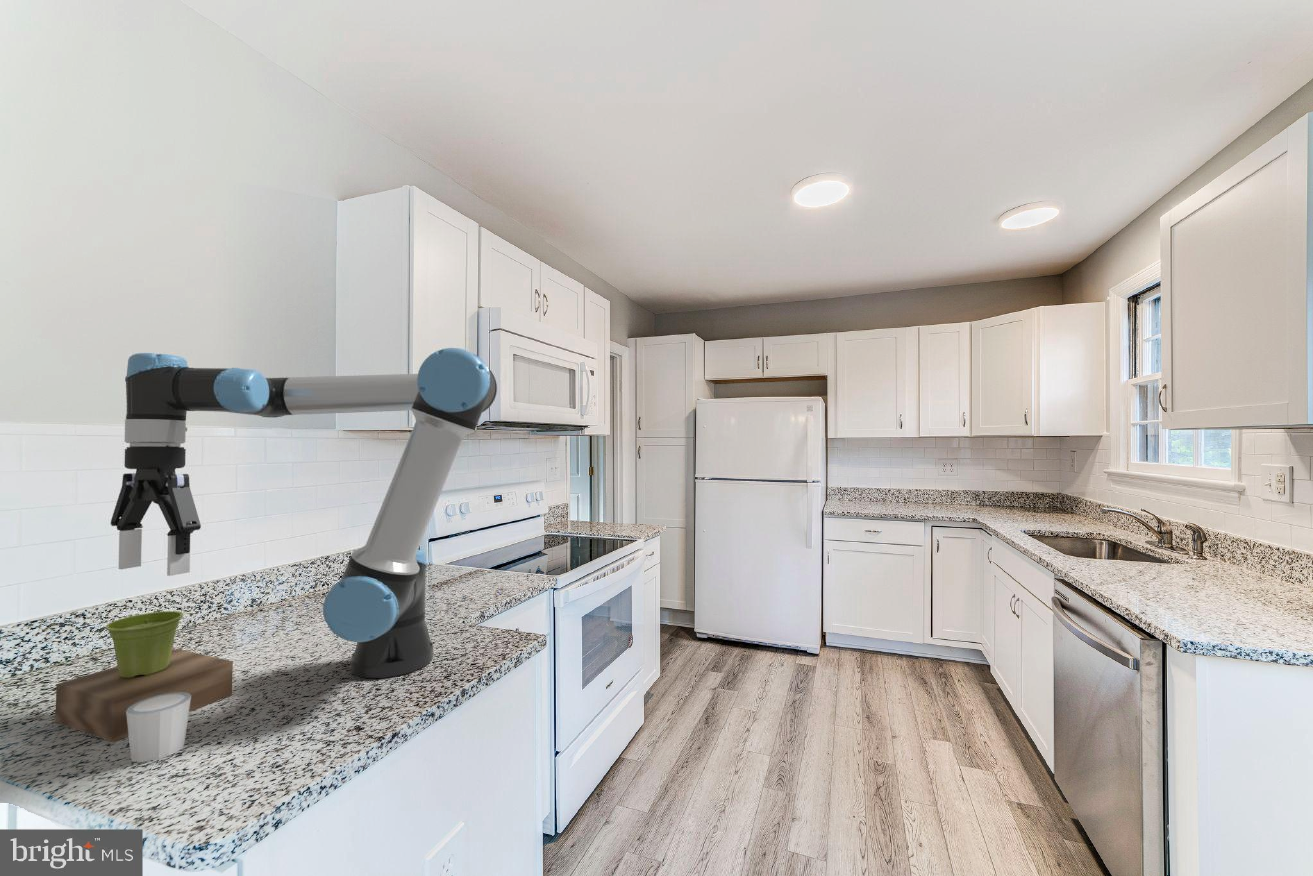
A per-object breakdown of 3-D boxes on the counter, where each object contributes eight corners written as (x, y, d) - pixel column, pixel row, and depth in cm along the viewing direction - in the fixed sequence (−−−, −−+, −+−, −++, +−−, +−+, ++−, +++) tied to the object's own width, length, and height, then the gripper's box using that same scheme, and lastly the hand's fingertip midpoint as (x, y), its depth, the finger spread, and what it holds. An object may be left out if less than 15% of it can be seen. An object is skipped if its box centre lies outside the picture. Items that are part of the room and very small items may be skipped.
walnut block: (231, 695, 93) (232, 661, 93) (113, 742, 78) (114, 701, 78) (176, 681, 99) (176, 648, 99) (55, 722, 84) (56, 684, 84)
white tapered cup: (125, 750, 76) (126, 701, 76) (188, 733, 81) (189, 687, 81) (124, 771, 71) (125, 719, 71) (191, 751, 76) (193, 702, 76)
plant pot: (133, 685, 84) (135, 630, 84) (88, 680, 85) (89, 626, 86) (195, 662, 93) (197, 613, 93) (153, 658, 95) (155, 609, 95)
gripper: (228, 445, 89) (226, 571, 88) (140, 446, 97) (137, 561, 97) (174, 444, 82) (172, 582, 81) (85, 445, 90) (82, 569, 90)
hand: (153, 570), depth 89 cm, fingers open, 13 cm apart
